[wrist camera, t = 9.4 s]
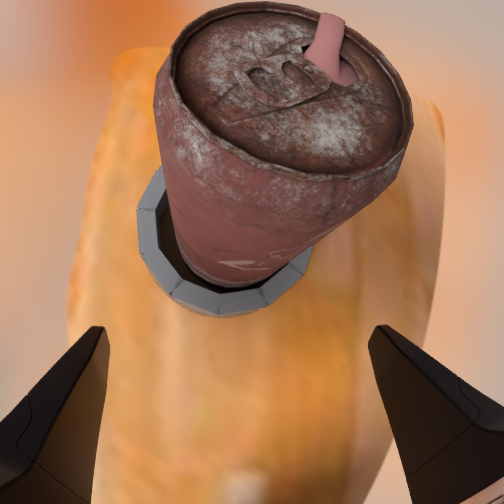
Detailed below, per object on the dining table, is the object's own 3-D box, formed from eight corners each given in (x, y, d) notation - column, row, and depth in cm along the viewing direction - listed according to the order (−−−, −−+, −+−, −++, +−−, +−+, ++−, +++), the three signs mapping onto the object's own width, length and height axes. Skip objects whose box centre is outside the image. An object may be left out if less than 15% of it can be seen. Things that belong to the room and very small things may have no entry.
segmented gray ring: (269, 340, 19) (284, 343, 16) (118, 280, 18) (103, 270, 15) (315, 201, 22) (335, 180, 18) (183, 148, 21) (182, 118, 18)
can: (288, 206, 20) (413, 42, 7) (266, 302, 18) (432, 240, 5) (197, 179, 19) (213, -27, 6) (165, 275, 18) (92, 136, 4)
